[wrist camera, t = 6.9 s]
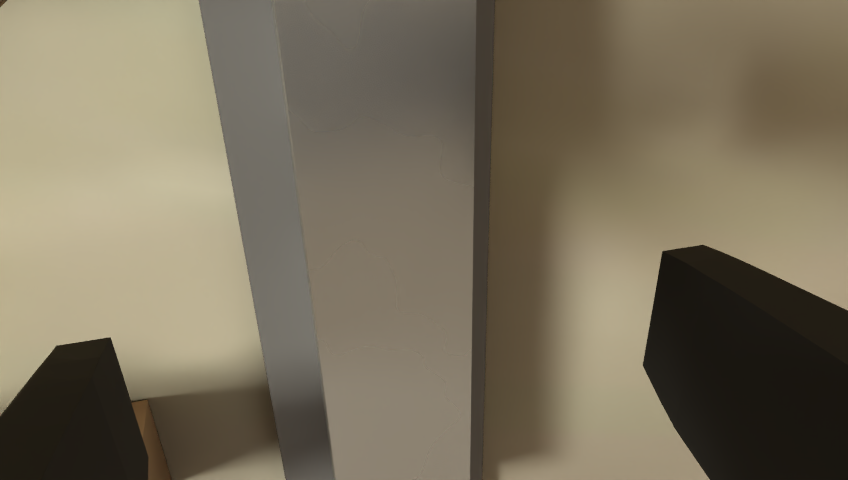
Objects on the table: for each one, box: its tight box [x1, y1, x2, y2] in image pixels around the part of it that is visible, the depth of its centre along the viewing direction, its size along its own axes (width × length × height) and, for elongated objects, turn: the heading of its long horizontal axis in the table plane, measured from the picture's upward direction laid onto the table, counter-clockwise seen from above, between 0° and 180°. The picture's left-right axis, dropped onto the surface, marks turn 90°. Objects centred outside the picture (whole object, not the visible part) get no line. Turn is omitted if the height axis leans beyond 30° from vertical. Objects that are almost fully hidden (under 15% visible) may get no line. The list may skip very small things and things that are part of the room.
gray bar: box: [199, 0, 495, 480], centre depth 13 cm, size 18×4×1 cm, turn 2°
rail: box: [270, 0, 476, 480], centre depth 12 cm, size 16×2×2 cm, turn 1°
